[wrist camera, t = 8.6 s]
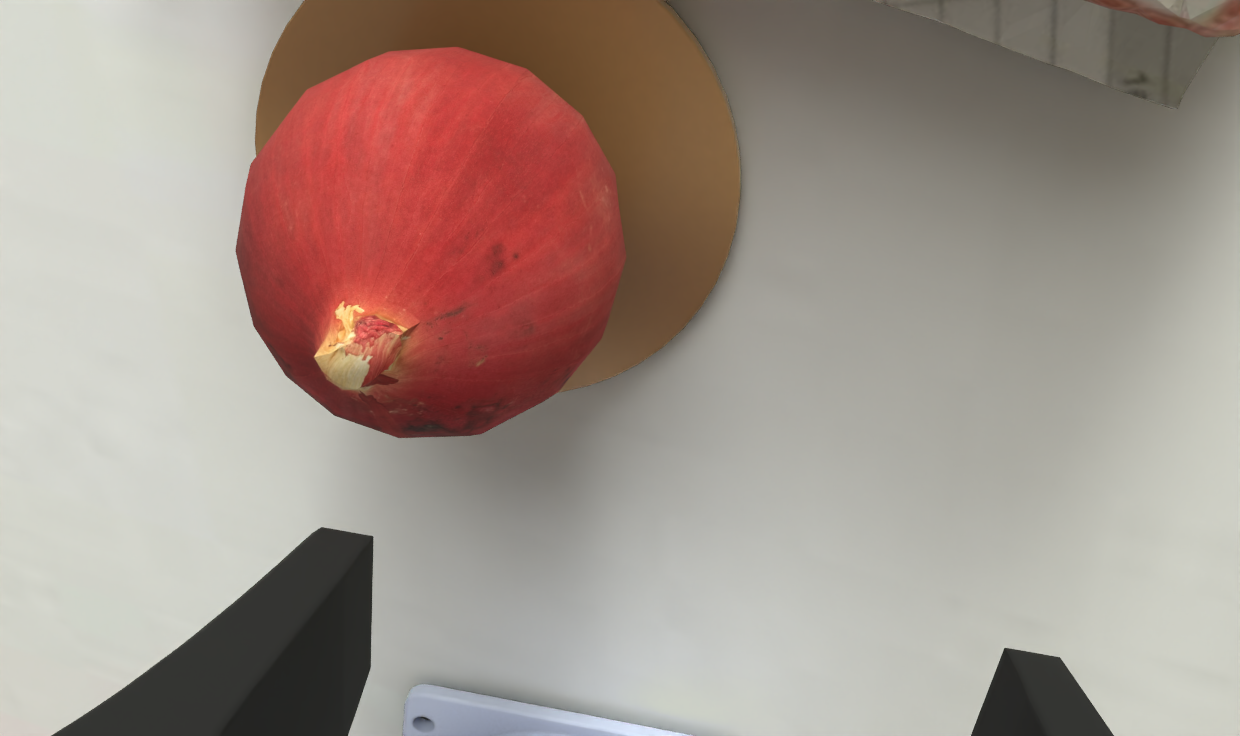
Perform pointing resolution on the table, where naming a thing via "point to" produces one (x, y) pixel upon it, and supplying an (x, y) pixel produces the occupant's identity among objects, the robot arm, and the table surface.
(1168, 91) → the packaged product
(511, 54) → the coaster
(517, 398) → the onion
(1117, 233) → the table surface
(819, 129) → the table surface
